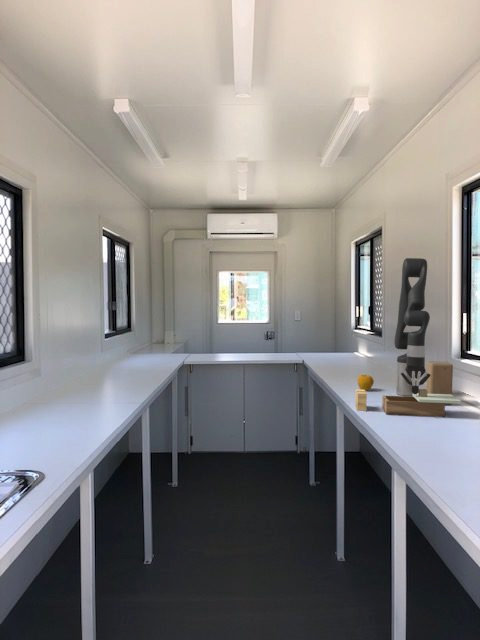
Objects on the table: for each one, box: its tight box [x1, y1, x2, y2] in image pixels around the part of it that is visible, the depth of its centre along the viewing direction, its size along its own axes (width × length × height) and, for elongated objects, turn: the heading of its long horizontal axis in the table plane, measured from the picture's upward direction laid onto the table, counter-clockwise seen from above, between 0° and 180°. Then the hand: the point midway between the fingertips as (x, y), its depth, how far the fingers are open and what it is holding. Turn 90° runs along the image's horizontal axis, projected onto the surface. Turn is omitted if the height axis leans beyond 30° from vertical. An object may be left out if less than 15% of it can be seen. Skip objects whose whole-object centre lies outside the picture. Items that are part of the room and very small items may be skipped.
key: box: [354, 388, 368, 412], centre depth 208 cm, size 9×4×8 cm, turn 171°
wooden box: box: [381, 395, 446, 418], centre depth 200 cm, size 12×24×6 cm, turn 81°
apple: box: [357, 374, 375, 392], centre depth 249 cm, size 8×8×9 cm
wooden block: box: [425, 360, 454, 406], centre depth 219 cm, size 10×10×20 cm
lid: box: [412, 388, 462, 405], centre depth 199 cm, size 13×17×4 cm
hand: (414, 393), depth 200 cm, fingers closed
